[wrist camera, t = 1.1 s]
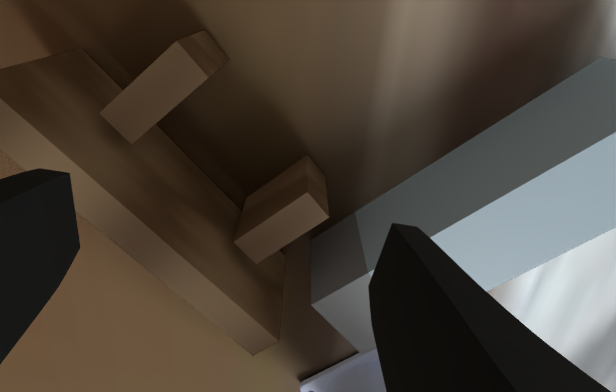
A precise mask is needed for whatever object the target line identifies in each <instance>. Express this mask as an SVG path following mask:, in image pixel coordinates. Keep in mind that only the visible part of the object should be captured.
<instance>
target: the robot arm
mask: <svg viewBox="0 0 616 392" xmlns="http://www.w3.org/2000/svg"><path fill="white" fill-rule="evenodd" d="M79 249H80V242H79V235H78V228H77V221H76V214H75V206H74V199H73V192H72V185H71V178H70V173H68V172H61V171H55V170H48V169H42V168H38V169H34V170H30V171H26V172H22V173H19V174H16V175H12V176H9V177H6V178H3V179H0V364H1V363H2V361H3V360H4V359H5V357H6V356H7V355H8V353H9V352H10V351H11V349H12V348H13V347H14V345H15V344H16V343H17V342H18V340H19V339H20V338H21V336H22V335H23V334H24V332H25V331H26V330H27V328H28V327H29V326H30V324H31V323H32V322H33V321H34V319H35V318H36V317H37V315H38V314H39V312H40V311H41V310H42V308H43V307H44V306H45V304H46V303H47V302H48V300H49V299H50V298H51V296H52V295H53V294H54V292H55V291H56V289H57V288H58V287H59V285H60V283H61V282H62V280H63V278H64V276H65V275H66V273H67V271H68V269H69V268H70V266H71V264H72V262H73V260H74V258H75V256H76V254H77V253H78V251H79ZM368 289H369V303H370V313H371V323H372V329H373V334H374V338H375V343H376V347H375V348H373V349H371V350H369V351H367V352H365V353H363V354H360V353H358V354H356V355H354V356H352V357H350V358H348V359H346V360H344V361H342V362H340V363H338V364H336V365H334V366H332V367H330V368H328V369H326V370H324V371H322V372H320V373H318V374H316V375H314V376H312V377H310V378H308V379H306V380H304V381H302V382H301V383H300V391H301V392H611V391H609V390H608V389H607V388H605V387H604V386H602V385H601V384H600V383H598V382H597V381H595V380H594V379H593V378H591V377H590V376H588V375H587V374H586V373H584V372H583V371H582V370H580V369H579V368H578V367H576V366H575V365H574V364H573V363H571V362H570V361H569V360H567V359H566V358H565V357H563V356H562V355H561V354H560V353H558V352H557V351H556V350H554V349H553V348H552V347H550V346H549V345H548V344H547V343H545V342H544V341H543V340H542V339H540V338H539V337H538V336H537V335H535V334H534V333H533V332H532V331H531V330H529V329H528V328H527V327H526V326H525V325H524V324H522V323H521V322H520V321H519V320H518V319H517V318H515V317H514V316H513V315H512V314H511V313H510V312H508V311H507V310H506V309H505V308H504V307H503V306H502V305H500V304H499V303H498V302H497V301H496V300H495V299H494V298H493V297H492V296H491V295H489V294H488V293H487V292H486V291H485V290H484V289H483V288H482V287H481V286H480V285H479V284H478V283H477V282H475V281H474V280H473V279H472V278H471V277H470V276H469V275H468V274H467V273H466V272H465V271H464V270H463V269H462V268H461V267H460V266H459V265H458V264H457V263H456V262H455V261H454V260H453V259H452V258H450V257H449V256H448V255H447V254H446V253H445V252H444V251H443V250H442V249H441V248H440V247H439V246H438V245H437V244H436V243H435V242H434V241H433V240H432V239H431V238H430V237H428V236H427V235H426V234H425V233H424V232H423V231H422V230H420V229H419V228H418V227H417V226H410V225H404V224H397V223H392V224H391V227H390V230H389V232H388V235H387V238H386V240H385V243H384V246H383V248H382V251H381V254H380V256H379V259H378V261H377V264H376V267H375V269H374V272H373V275H372V277H371V280H370V283H369V285H368Z"/></svg>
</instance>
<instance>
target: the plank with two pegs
mask: <svg viewBox="0 0 616 392" xmlns="http://www.w3.org/2000/svg"><path fill="white" fill-rule="evenodd" d="M228 60H229V58H228V57H227V56H226V55H225V53H224V52H223V51H222V50H221V49H220V47H219V46H218V45H217V44H216V42H215V41H214V40H213V39H212V38H211V36H210V35H209V34H208V33H207V32H206V30H203V31H200V32H198V33H195V34H193V35H190V36H187V37H185V38H182V39H180V40H177V41H176V42H175V43H173V44H172V45H171V46H170V47H169V48H168V49H167V50H166V51H165V52H164V53H163V54H162V55H161V56H160V57H158V58H157V59H156V60H155V61H154V62H153V63H152V64H151V65H150V66H149V67H148V68H147V69H146V70H145V71H144V72H142V73H141V74H140V75H139V76H138V77H137V78H136V79H135V80H134V81H133V82H132V83H131V84H130V85H129V86H128V87H126V88H125V89H124V90H122V89H121V88H120V87H119V86H118V85H117V84H116V83H115V82H114V81H113V80H112V79H111V78H110V77H109V76H108V75H107V74H106V73H105V72H104V71H103V70H102V69H101V68H100V67H99V66H98V65H97V64H96V63H95V62H94V61H93V60H92V59H91V58H90V57H89V56H88V54H87V53H86V52H85V51H84V50H83V49H82V48H81V49H77V50H73V51H69V52H65V53H61V54H57V55H53V56H49V57H45V58H41V59H38V60H34V61H30V62H26V63H22V64H18V65H14V66H10V67H6V68H2V69H0V150H1V151H2V152H4V153H5V154H6V155H7V156H9V157H10V158H11V159H12V160H13V161H15V162H16V163H17V164H18V165H20V166H21V167H22V168H23V169H25V170H26V171H30V170H34V169H38V168H42V169H48V170H55V171H61V172H68V173H70V178H71V185H72V192H73V199H74V206H75V211H76V212H77V213H78V214H80V215H81V216H82V217H83V218H85V219H86V220H87V221H88V222H89V223H91V224H92V225H93V226H94V227H96V228H97V229H98V230H99V231H100V232H102V233H103V234H104V235H105V236H107V237H108V238H109V239H110V240H112V241H113V242H114V243H115V244H116V245H118V246H119V247H120V248H121V249H123V250H124V251H125V252H126V253H127V254H129V255H130V256H131V257H132V258H134V259H135V260H136V261H137V262H138V263H140V264H141V265H142V266H143V267H145V268H146V269H147V270H148V271H150V272H151V273H152V274H153V275H154V276H156V277H157V278H158V279H159V280H161V281H162V282H163V283H164V284H165V285H167V286H168V287H169V288H170V289H172V290H173V291H174V292H175V293H176V294H178V295H179V296H180V297H181V298H183V299H184V300H185V301H186V302H187V303H189V304H190V305H191V306H192V307H194V308H195V309H196V310H197V311H199V312H200V313H201V314H202V315H203V316H205V317H206V318H207V319H208V320H210V321H211V322H212V323H213V324H214V325H216V326H217V327H218V328H219V329H221V330H222V331H223V332H224V333H225V334H227V335H228V336H229V337H230V338H232V339H233V340H234V341H235V342H237V343H238V344H239V345H240V346H241V347H243V348H244V349H245V350H246V351H248V352H249V353H250V354H251V355H252V356H253V355H255V354H257V353H259V352H261V351H263V350H264V349H266V348H268V347H270V346H272V345H273V344H275V343H277V342H279V336H280V323H281V311H282V298H283V285H284V272H285V260H286V256H285V255H284V254H283V253H282V252H281V251H280V250H279V249H281V248H282V247H284V246H286V245H287V244H289V243H290V242H292V241H293V240H295V239H297V238H298V237H300V236H301V235H303V234H304V233H306V232H307V231H309V230H311V229H312V228H314V227H315V226H317V225H318V224H320V223H322V222H323V221H325V220H326V219H328V218H329V209H328V199H327V189H326V179H325V175H324V174H323V173H322V172H321V170H320V169H319V168H318V167H317V166H316V164H315V163H314V162H313V161H312V159H311V158H310V157H309V156H308V155H306V156H304V157H303V158H301V159H300V160H299V161H297V162H296V163H294V164H293V165H292V166H290V167H289V168H287V169H286V170H285V171H283V172H282V173H280V174H279V175H278V176H276V177H275V178H273V179H272V180H270V181H269V182H268V183H266V184H265V185H263V186H262V187H261V188H259V189H258V190H256V191H255V192H254V193H252V194H251V195H249V196H248V197H247V198H246V201H245V204H244V208H243V211H241V210H240V209H239V208H238V207H237V206H236V205H235V204H234V203H233V202H232V201H231V200H230V199H229V198H228V197H227V196H226V195H225V194H224V193H223V192H222V191H221V190H220V189H219V188H218V187H217V186H216V185H215V184H214V183H213V182H212V181H211V180H210V179H209V177H208V176H207V175H206V174H205V173H204V172H203V171H202V170H201V169H200V168H199V167H198V166H197V165H196V164H195V163H194V162H193V161H192V160H191V159H190V158H189V157H188V156H187V155H186V154H185V153H184V152H183V151H182V150H181V149H180V148H179V147H178V146H177V145H176V144H175V143H174V142H173V141H172V140H171V139H170V138H169V137H168V136H167V135H166V134H165V133H164V132H163V131H162V130H161V129H160V128H159V127H158V126H157V125H156V123H157V122H158V121H159V120H160V119H162V118H163V117H164V116H165V115H166V114H167V113H169V112H170V111H171V110H172V109H173V108H174V107H176V106H177V105H178V104H179V103H180V102H181V101H182V100H184V99H185V98H186V97H187V96H188V95H189V94H191V93H192V92H193V91H194V90H195V89H196V88H197V87H199V86H200V85H201V84H202V83H203V82H204V81H206V80H207V79H208V78H209V77H210V76H211V75H212V74H213V73H215V72H216V71H217V70H218V69H219V68H220V67H221V66H222V65H224V64H225V63H226V62H227V61H228Z"/></svg>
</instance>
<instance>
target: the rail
mask: <svg viewBox="0 0 616 392" xmlns="http://www.w3.org/2000/svg"><path fill="white" fill-rule="evenodd" d="M392 223H397V224H404V225H410V226H417V227H418V228H419V229H420V230H422V231H423V232H424V233H425V234H426V235H427V236H428V237H430V238H431V239H432V240H433V241H434V242H435V243H436V244H437V245H438V246H439V247H440V248H441V249H442V250H443V251H444V252H445V253H446V254H447V255H448V256H449V257H450V258H452V259H453V260H454V261H455V262H456V263H457V264H458V265H459V266H460V267H461V268H462V269H463V270H464V271H465V272H466V273H467V274H468V275H469V276H470V277H471V278H472V279H473V280H474V281H475V282H477V283H478V284H479V285H480V286H481V287H482V288H483V289H484V290H485V291H486V292H487V291H489V290H491V289H493V288H495V287H497V286H499V285H501V284H503V283H505V282H507V281H509V280H511V279H513V278H515V277H517V276H519V275H521V274H523V273H525V272H527V271H529V270H531V269H533V268H535V267H537V266H539V265H541V264H543V263H545V262H547V261H549V260H551V259H553V258H555V257H557V256H559V255H561V254H563V253H565V252H567V251H569V250H571V249H573V248H575V247H577V246H579V245H581V244H583V243H585V242H587V241H589V240H591V239H593V238H595V237H597V236H599V235H601V234H603V233H605V232H607V231H609V230H611V229H613V228H615V227H616V60H614V59H609V58H605V57H600V58H599V59H597V60H595V61H594V62H592V63H591V64H589V65H587V66H586V67H584V68H583V69H581V70H580V71H578V72H576V73H575V74H573V75H572V76H570V77H568V78H567V79H565V80H564V81H562V82H560V83H559V84H557V85H556V86H554V87H553V88H551V89H549V90H548V91H546V92H545V93H543V94H541V95H540V96H538V97H537V98H535V99H533V100H532V101H530V102H529V103H527V104H526V105H524V106H522V107H521V108H519V109H518V110H516V111H514V112H513V113H511V114H510V115H508V116H506V117H505V118H503V119H502V120H500V121H499V122H497V123H495V124H494V125H492V126H491V127H489V128H487V129H486V130H484V131H483V132H481V133H480V134H478V135H476V136H475V137H473V138H472V139H470V140H468V141H467V142H465V143H464V144H462V145H460V146H459V147H457V148H456V149H454V150H453V151H451V152H449V153H448V154H446V155H445V156H443V157H441V158H440V159H438V160H437V161H435V162H433V163H432V164H430V165H429V166H427V167H426V168H424V169H422V170H421V171H419V172H418V173H416V174H414V175H413V176H411V177H410V178H408V179H406V180H405V181H403V182H402V183H400V184H399V185H397V186H395V187H394V188H392V189H391V190H389V191H387V192H386V193H384V194H383V195H381V196H380V197H378V198H376V199H375V200H373V201H372V202H370V203H368V204H367V205H365V206H364V207H362V208H360V209H359V210H357V211H356V212H354V213H353V214H351V215H349V216H348V217H346V218H345V219H343V220H341V221H340V222H338V223H337V224H335V225H333V226H332V227H330V228H329V229H327V230H326V231H324V232H322V233H321V234H319V235H318V236H316V237H314V238H313V239H311V240H310V258H311V306H312V307H313V308H315V309H316V310H317V311H318V312H319V313H320V314H321V315H322V316H323V317H324V318H325V319H326V320H327V321H328V322H329V323H330V324H331V325H332V326H333V327H334V328H335V329H336V330H337V331H338V332H339V333H340V334H341V335H342V336H343V337H344V338H345V339H346V340H347V341H348V342H349V343H350V344H351V345H352V346H353V347H354V348H355V349H356V350H357V351H358V352H359V353H360V354H363V353H365V352H367V351H369V350H371V349H373V348H375V347H376V343H375V338H374V334H373V329H372V323H371V313H370V303H369V289H368V285H369V283H370V280H371V277H372V275H373V272H374V269H375V267H376V264H377V261H378V259H379V256H380V254H381V251H382V248H383V246H384V243H385V240H386V238H387V235H388V232H389V230H390V227H391V224H392Z"/></svg>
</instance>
